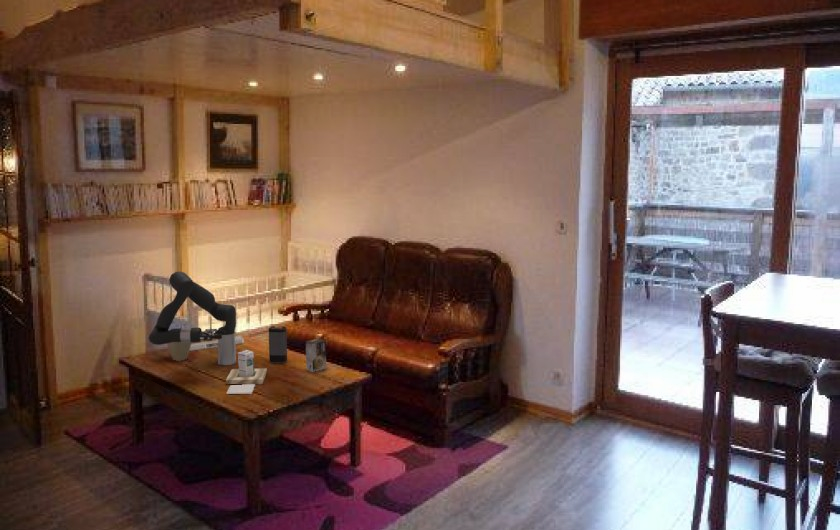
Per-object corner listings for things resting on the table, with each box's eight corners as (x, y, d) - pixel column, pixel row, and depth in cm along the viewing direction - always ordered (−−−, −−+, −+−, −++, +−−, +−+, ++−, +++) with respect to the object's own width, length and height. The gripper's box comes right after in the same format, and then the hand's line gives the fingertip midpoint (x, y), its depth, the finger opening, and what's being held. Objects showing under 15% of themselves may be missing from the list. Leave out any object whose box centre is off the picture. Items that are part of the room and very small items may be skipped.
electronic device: (287, 360, 377) (287, 326, 374) (284, 363, 371) (284, 329, 368) (272, 360, 378) (271, 325, 375) (268, 363, 372) (267, 328, 369)
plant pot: (161, 362, 372) (159, 335, 369) (174, 355, 386) (172, 328, 384) (186, 363, 370) (185, 336, 368) (198, 356, 385) (197, 329, 382)
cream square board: (225, 384, 336) (225, 380, 336) (232, 373, 354) (232, 369, 354) (262, 384, 338) (261, 379, 338) (266, 372, 356) (266, 368, 355)
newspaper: (187, 352, 393) (187, 347, 392) (182, 347, 403) (182, 342, 403) (246, 344, 411) (246, 338, 411) (240, 339, 422) (240, 334, 421)
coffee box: (319, 366, 367) (319, 338, 365) (326, 369, 363) (326, 340, 360) (305, 369, 361) (305, 341, 359) (312, 372, 357) (312, 343, 354)
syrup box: (246, 381, 342) (245, 354, 340) (238, 379, 345) (237, 352, 343) (255, 378, 347) (254, 351, 344) (246, 376, 350) (246, 349, 348)
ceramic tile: (226, 395, 322) (226, 393, 322) (230, 386, 334) (230, 384, 333) (251, 394, 323) (251, 392, 323) (255, 386, 335) (255, 384, 335)
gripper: (187, 331, 332) (220, 330, 334) (193, 324, 346) (225, 324, 348) (187, 345, 333) (221, 345, 335) (194, 338, 347) (226, 337, 349)
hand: (223, 334), depth 341 cm, fingers open, 8 cm apart
